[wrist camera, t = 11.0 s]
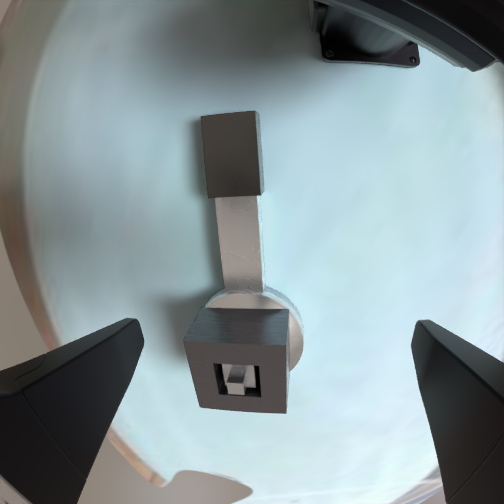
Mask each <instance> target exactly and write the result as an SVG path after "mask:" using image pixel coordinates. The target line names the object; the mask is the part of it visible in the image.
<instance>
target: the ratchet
mask: <svg viewBox="0 0 504 504" xmlns="http://www.w3.org/2000/svg"><path fill="white" fill-rule="evenodd" d="M201 123H202V135H203V147H204V159H205V170H206V180H207V191H208V198H215V205H216V215H217V225H218V234H219V244H220V253H221V262H222V271H223V280H224V289H222V290H220V291H218V292H217V293H215V294H214V295H213V296H212V297H211V298H210V299H209V300H208V302H207V303H206V305H205V307H208V308H248V309H289V330H290V371H291V370H292V369H293V368H294V367H295V366H296V364H297V363H298V361H299V359H300V357H301V355H302V351H303V322H302V318H301V316H300V313H299V312H298V310H297V308H296V307H295V306H294V304H293V303H292V302H291V301H290V300H289V299H288V298H287V297H285V296H284V295H283V294H281V293H280V292H278V291H276V290H274V289H272V288H269V287H266V286H265V269H264V252H263V236H262V220H261V204H260V196H261V195H262V193H263V192H264V178H263V163H262V149H261V134H260V120H259V113H258V112H256V111H246V112H235V113H225V114H216V115H208V116H201ZM222 368H223V374H224V380H225V386H227V388H228V394H238V395H245V390H246V387H253V388H256V384H257V379H258V374H259V366H252V365H232V364H222Z"/></svg>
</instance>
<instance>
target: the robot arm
mask: <svg viewBox="0 0 504 504" xmlns="http://www.w3.org/2000/svg"><path fill="white" fill-rule="evenodd" d="M307 2H308V9H309V16H310V24H311V30H312V31H313V32H314V33H318V34H319V42H320V50H321V56H322V58H323V59H324V60H325V61H327V62H349V63H368V64H381V65H392V66H401V67H409V68H415V67H416V66H418V65H419V64H420V58H419V51H418V45H420V46H422V47H424V48H426V49H427V50H429V51H431V52H432V53H434V54H436V55H438V56H439V57H441V58H442V59H444V60H446V61H447V62H449V63H450V64H452V65H454V66H457V67H462V68H465V67H466V68H467V69H469V70H470V71H472V72H475V71H479V70H482V69H484V68H487V67H489V66H491V65H492V64H493V63H495V62H500V63H501V64H503V65H504V0H307ZM417 44H418V45H417ZM328 51H329V52H331V53H332V54H333V56H332V57H328V56H327V55H326V54H325V53H326V52H328ZM410 57H411V58H413V59H414V63H412V62H411V61H410V59H409V58H410ZM143 346H144V337H143V334H142V330H141V327H140V323H139V321H138V320H137V319H134V318H125V319H123V320H121V321H118V322H116V323H114V324H111V325H109V326H107V327H105V328H102V329H100V330H98V331H96V332H93V333H91V334H89V335H86V336H84V337H82V338H80V339H77V340H75V341H73V342H70V343H68V344H66V345H64V346H61V347H59V348H57V349H54V350H52V351H50V352H47V353H46V354H43V355H40V356H38V357H36V358H33V359H31V360H29V361H26V362H23V363H21V364H18V365H16V366H13V367H10V368H7V369H4V370H2V371H0V504H77V502H78V500H79V497H80V495H81V492H82V490H83V487H84V485H85V483H86V479H87V477H88V475H89V473H90V470H91V468H92V466H93V463H94V461H95V459H96V456H97V454H98V452H99V449H100V447H101V445H102V443H103V440H104V438H105V436H106V434H107V431H108V429H109V427H110V425H111V423H112V420H113V418H114V416H115V414H116V412H117V410H118V407H119V405H120V403H121V401H122V399H123V397H124V395H125V393H126V390H127V388H128V386H129V384H130V382H131V379H132V377H133V374H134V371H135V369H136V366H137V363H138V360H139V357H140V355H141V352H142V349H143ZM411 349H412V354H413V359H414V364H415V369H416V375H417V380H418V385H419V390H420V393H421V397H422V400H423V404H424V407H425V411H426V414H427V418H428V422H429V425H430V429H431V433H432V437H433V441H434V445H435V450H436V454H437V458H438V463H439V468H440V473H441V478H442V483H443V488H444V494H445V500H446V504H504V363H503V362H501V361H500V360H498V359H496V358H495V357H493V356H491V355H490V354H488V353H486V352H484V351H483V350H481V349H479V348H478V347H476V346H474V345H472V344H471V343H469V342H467V341H466V340H464V339H462V338H460V337H459V336H457V335H455V334H454V333H452V332H450V331H448V330H447V329H445V328H443V327H441V326H440V325H438V324H436V323H434V322H433V321H431V320H418V321H417V323H416V325H415V329H414V334H413V338H412V342H411Z"/></svg>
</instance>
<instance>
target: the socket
mask: <svg viewBox="0 0 504 504" xmlns="http://www.w3.org/2000/svg"><path fill="white" fill-rule="evenodd" d="M183 341H184V346H185V350H186V354H187V359H188V363H189V367H190V371H191V375H192V379H193V383H194V387H195V391H196V395H197V398H198V402H199V406H200V407H201V408H210V409H219V410H230V411H242V412H258V413H284V414H286V413H287V401H288V389H289V376H290V330H289V309H248V308H208V307H202V308H201V310H200V312H199V313H198V315H197V317H196V319H195V321H194V322H193V324H192V326H191V328H190V330H189V331H188V333H187V335H186V337H185V339H184V340H183ZM222 364H232V365H252V366H259V374H258V379H257V384H256V388H253V387H246V390H245V395H238V394H228V388H227V386H225V380H224V374H223V368H222Z"/></svg>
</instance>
